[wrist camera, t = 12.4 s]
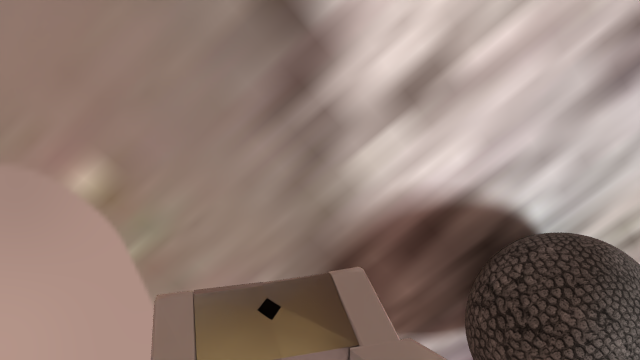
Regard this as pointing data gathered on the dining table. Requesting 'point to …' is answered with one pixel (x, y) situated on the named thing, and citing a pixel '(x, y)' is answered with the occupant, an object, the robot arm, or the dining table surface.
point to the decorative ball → (556, 302)
